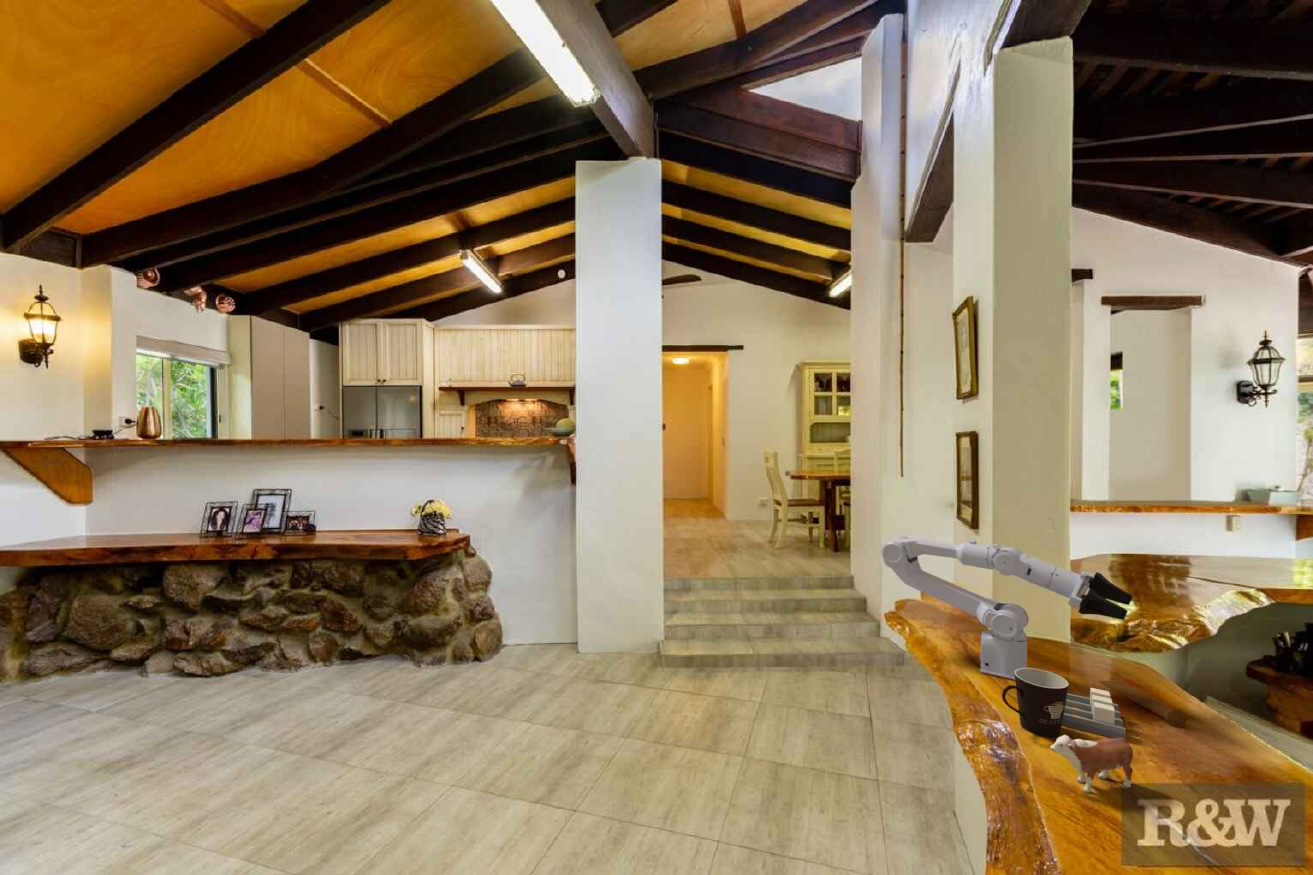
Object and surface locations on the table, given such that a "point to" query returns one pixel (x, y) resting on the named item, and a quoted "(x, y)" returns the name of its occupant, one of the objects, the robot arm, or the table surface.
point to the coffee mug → (1039, 701)
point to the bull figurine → (1096, 757)
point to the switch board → (1090, 718)
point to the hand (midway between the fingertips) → (1128, 607)
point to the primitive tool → (1147, 702)
